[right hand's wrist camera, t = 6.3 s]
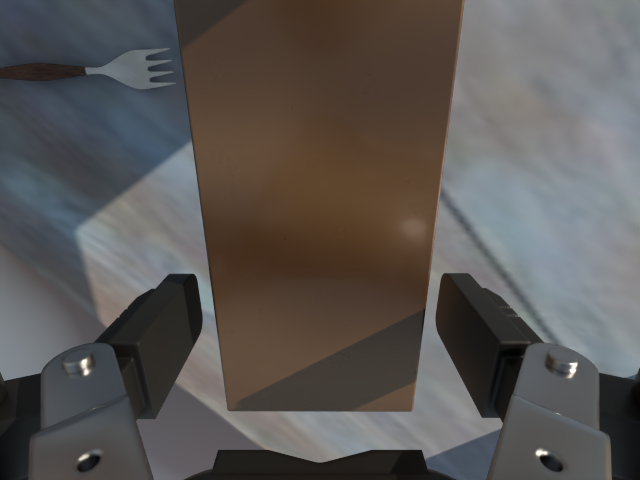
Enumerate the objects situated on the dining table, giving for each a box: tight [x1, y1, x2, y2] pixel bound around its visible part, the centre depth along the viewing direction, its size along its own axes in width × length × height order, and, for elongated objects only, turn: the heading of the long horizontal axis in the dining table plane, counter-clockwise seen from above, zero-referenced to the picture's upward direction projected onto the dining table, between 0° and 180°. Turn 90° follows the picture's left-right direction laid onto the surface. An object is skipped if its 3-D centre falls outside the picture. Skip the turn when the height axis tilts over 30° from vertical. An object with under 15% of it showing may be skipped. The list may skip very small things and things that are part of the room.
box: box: [174, 0, 465, 412], centre depth 13 cm, size 21×6×12 cm, turn 0°
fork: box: [0, 48, 176, 90], centre depth 24 cm, size 3×16×2 cm, turn 91°
